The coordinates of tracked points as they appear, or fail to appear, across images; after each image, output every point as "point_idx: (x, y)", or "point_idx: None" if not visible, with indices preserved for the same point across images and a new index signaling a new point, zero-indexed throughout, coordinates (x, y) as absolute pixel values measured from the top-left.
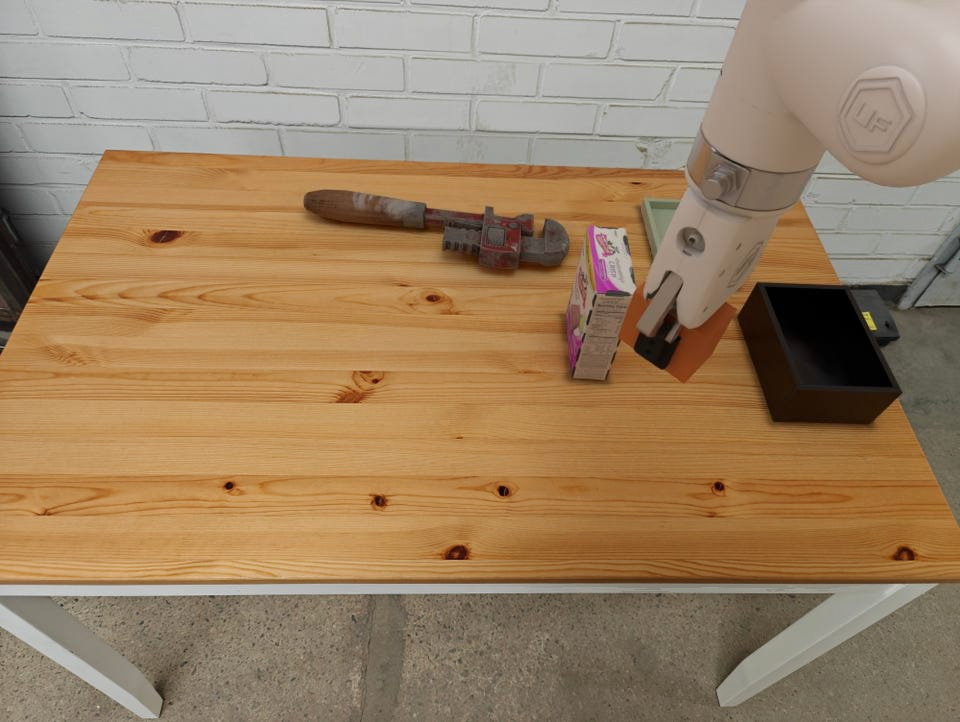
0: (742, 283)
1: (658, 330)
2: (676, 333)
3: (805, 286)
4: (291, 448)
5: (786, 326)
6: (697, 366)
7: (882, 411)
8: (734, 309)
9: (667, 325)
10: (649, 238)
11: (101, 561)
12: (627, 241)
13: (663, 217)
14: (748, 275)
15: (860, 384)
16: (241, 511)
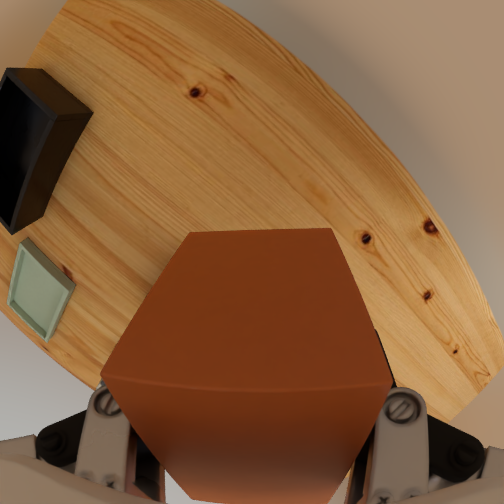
0: (56, 496)
1: (485, 463)
2: (410, 425)
3: None
4: (422, 354)
5: (20, 182)
6: (288, 244)
7: (28, 68)
8: (114, 383)
9: (462, 474)
10: (59, 317)
11: (500, 346)
12: (103, 381)
13: (41, 320)
14: (21, 498)
15: (19, 99)
16: (465, 336)
